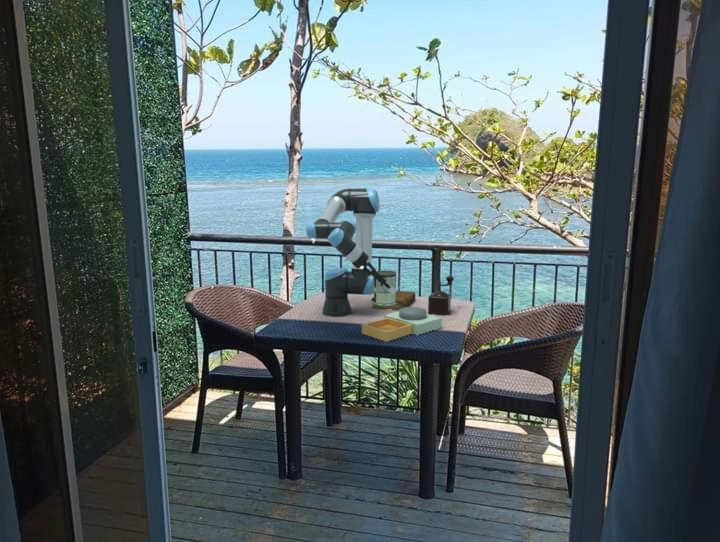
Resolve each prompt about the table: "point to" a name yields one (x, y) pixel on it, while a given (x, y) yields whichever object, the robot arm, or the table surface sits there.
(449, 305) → the pepper mill
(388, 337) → the shallow square tray
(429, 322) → the block with grey dome
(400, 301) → the diary
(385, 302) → the coffee can
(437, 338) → the table surface
